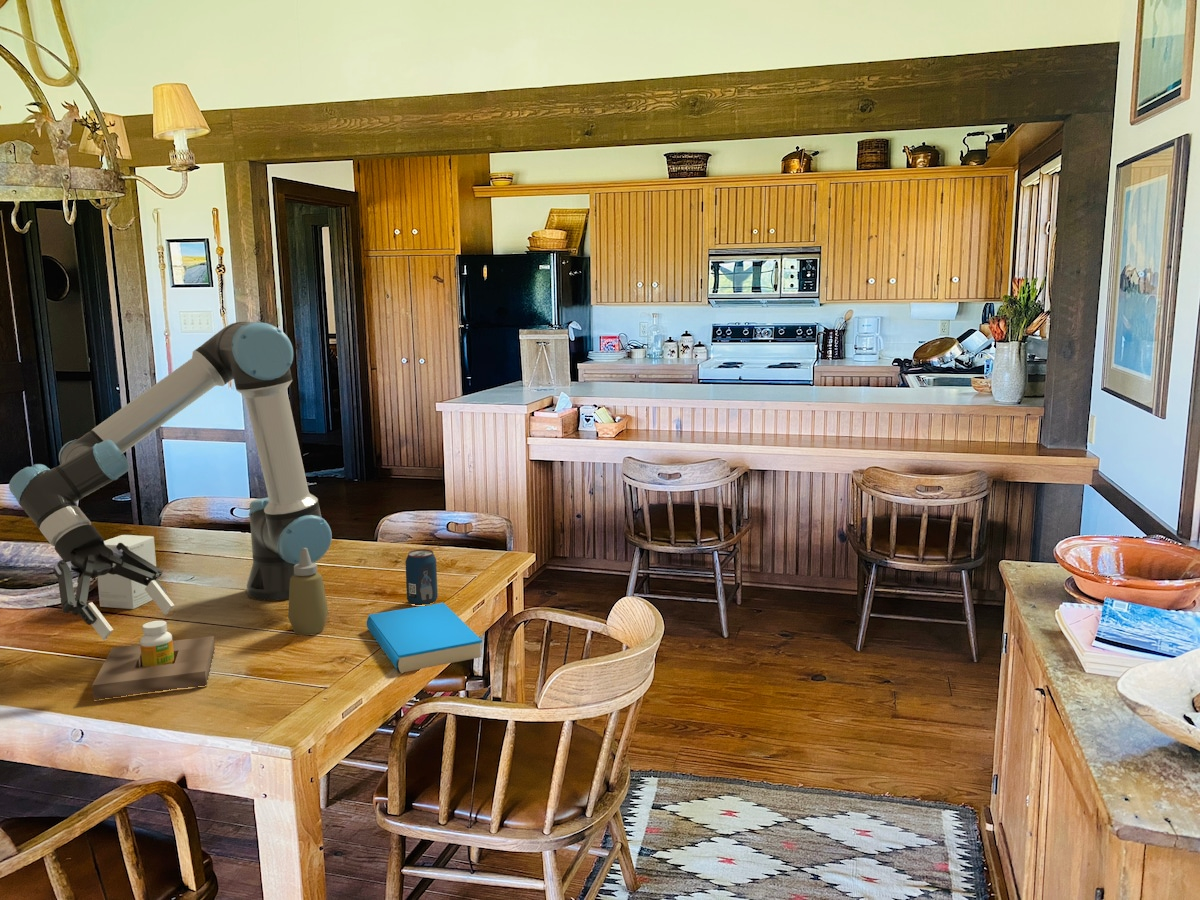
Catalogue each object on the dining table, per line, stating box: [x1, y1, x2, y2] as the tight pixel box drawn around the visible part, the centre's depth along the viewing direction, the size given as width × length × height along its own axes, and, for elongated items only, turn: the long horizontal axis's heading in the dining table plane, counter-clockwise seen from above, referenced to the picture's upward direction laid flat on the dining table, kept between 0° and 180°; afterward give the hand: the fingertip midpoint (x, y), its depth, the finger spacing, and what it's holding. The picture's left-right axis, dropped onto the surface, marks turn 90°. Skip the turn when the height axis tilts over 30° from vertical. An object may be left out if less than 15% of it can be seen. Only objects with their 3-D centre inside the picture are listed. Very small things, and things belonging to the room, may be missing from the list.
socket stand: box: [91, 635, 216, 701], centre depth 165 cm, size 18×18×3 cm
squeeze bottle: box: [287, 548, 329, 636], centre depth 186 cm, size 8×8×18 cm
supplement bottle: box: [139, 620, 175, 667], centre depth 165 cm, size 5×5×10 cm
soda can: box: [405, 548, 439, 605], centre depth 203 cm, size 7×7×12 cm
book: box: [366, 602, 483, 673], centre depth 180 cm, size 17×4×25 cm
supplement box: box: [96, 534, 157, 610], centre depth 204 cm, size 9×9×15 cm
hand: (140, 622), depth 164 cm, fingers open, 13 cm apart
